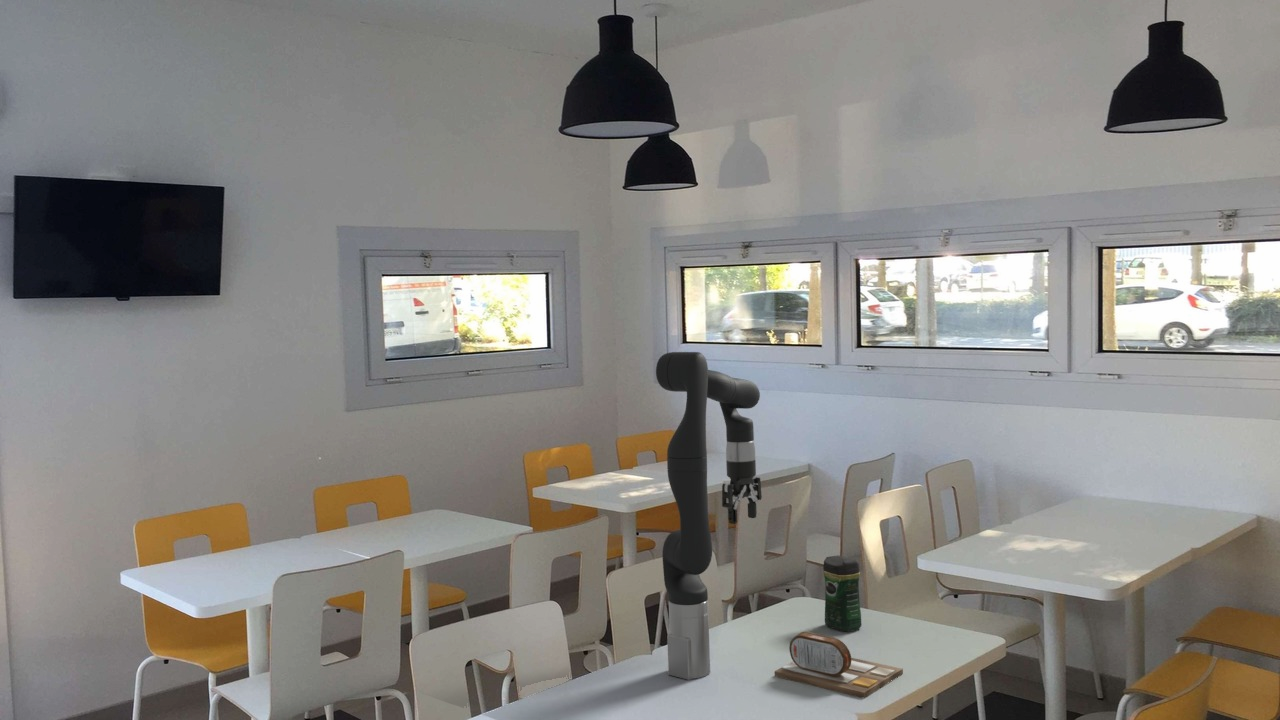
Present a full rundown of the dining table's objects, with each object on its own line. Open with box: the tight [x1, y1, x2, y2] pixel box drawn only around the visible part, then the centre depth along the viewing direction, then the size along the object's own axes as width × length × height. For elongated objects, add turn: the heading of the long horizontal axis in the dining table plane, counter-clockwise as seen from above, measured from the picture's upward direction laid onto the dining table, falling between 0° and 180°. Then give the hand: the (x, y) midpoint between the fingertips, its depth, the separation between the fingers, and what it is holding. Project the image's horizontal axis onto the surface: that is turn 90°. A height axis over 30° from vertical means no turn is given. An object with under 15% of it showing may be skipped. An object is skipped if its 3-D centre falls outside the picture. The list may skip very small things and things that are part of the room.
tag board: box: [774, 657, 904, 699], centre depth 235 cm, size 18×23×2 cm
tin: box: [788, 631, 852, 676], centre depth 233 cm, size 15×3×8 cm, turn 49°
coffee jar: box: [822, 554, 862, 632], centre depth 270 cm, size 10×8×19 cm
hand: (742, 520), depth 265 cm, fingers open, 8 cm apart
